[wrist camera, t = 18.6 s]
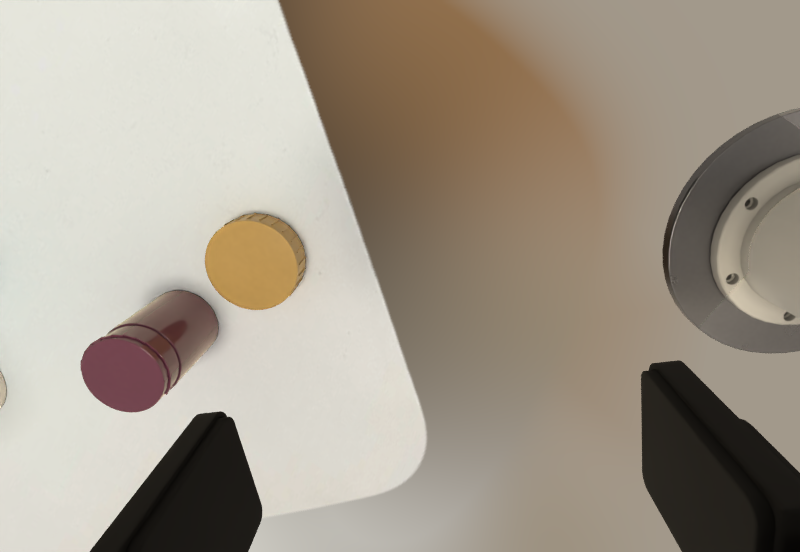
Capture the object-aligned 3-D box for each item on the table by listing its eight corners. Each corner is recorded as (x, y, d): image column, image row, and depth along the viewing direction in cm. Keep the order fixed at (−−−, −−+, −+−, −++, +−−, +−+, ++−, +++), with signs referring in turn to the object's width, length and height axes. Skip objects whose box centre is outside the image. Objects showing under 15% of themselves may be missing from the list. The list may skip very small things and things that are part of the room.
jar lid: (229, 199, 34) (216, 205, 32) (317, 232, 34) (310, 240, 32) (208, 280, 36) (194, 291, 34) (292, 311, 36) (283, 323, 34)
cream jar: (222, 299, 36) (169, 349, 29) (214, 360, 38) (162, 422, 31) (152, 282, 36) (80, 328, 29) (147, 344, 38) (78, 402, 30)
